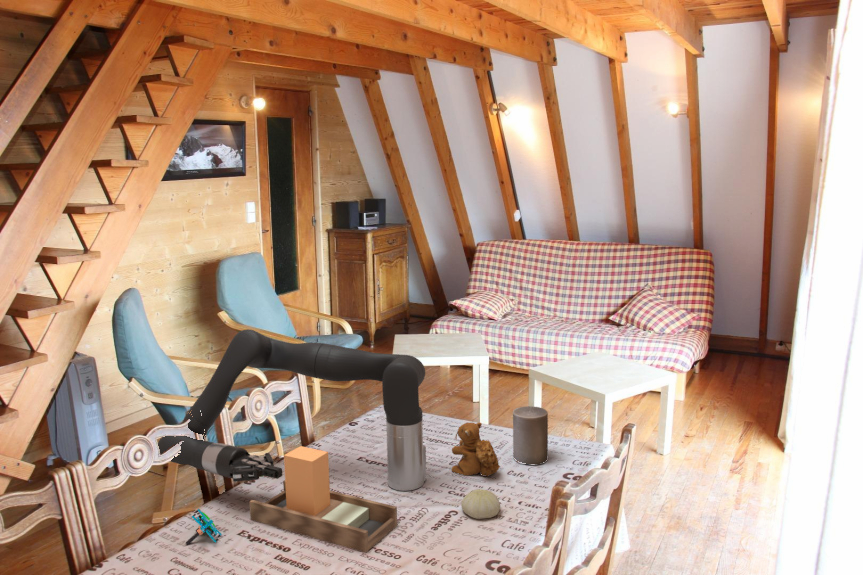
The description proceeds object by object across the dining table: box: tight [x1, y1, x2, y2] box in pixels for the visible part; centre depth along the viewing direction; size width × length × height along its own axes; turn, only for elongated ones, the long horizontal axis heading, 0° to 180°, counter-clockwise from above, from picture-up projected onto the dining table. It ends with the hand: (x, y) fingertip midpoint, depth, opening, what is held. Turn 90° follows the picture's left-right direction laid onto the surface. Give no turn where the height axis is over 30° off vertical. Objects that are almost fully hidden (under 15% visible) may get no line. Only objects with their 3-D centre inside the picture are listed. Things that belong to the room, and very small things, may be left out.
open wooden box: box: [249, 480, 398, 554], centre depth 161 cm, size 32×13×4 cm, turn 62°
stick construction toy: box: [185, 508, 223, 546], centre depth 155 cm, size 12×7×8 cm
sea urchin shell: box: [460, 488, 501, 520], centre depth 165 cm, size 9×8×8 cm
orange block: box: [283, 445, 331, 516], centre depth 161 cm, size 8×6×13 cm
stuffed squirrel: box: [450, 422, 501, 477], centre depth 186 cm, size 10×14×13 cm
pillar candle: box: [512, 405, 549, 465], centre depth 194 cm, size 10×10×15 cm
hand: (280, 473), depth 165 cm, fingers closed
